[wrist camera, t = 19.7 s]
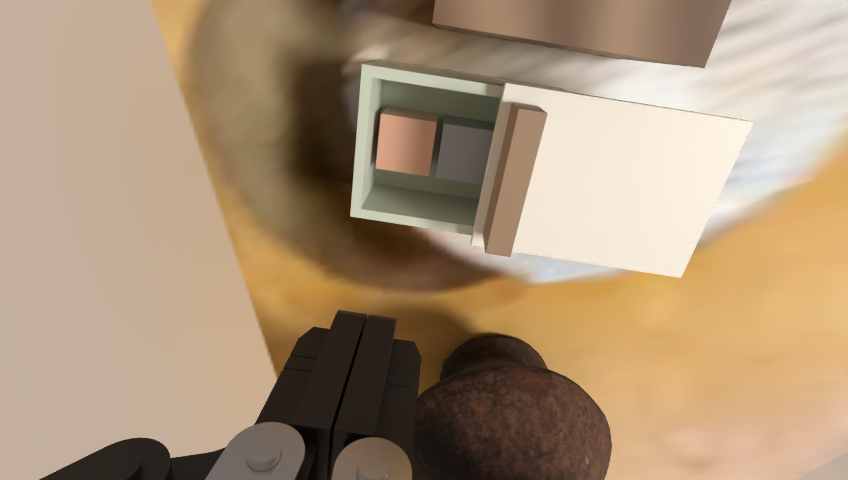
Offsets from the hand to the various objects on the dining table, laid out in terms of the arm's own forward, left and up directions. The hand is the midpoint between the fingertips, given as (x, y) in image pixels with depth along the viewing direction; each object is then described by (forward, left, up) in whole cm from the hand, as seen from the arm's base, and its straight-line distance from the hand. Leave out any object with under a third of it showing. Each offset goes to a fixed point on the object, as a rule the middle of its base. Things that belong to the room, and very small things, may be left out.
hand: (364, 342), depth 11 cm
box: (-3, 0, -27) cm, 27 cm away
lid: (-12, 0, -20) cm, 23 cm away
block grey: (-3, 0, -26) cm, 26 cm away
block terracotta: (+1, 0, -26) cm, 26 cm away
